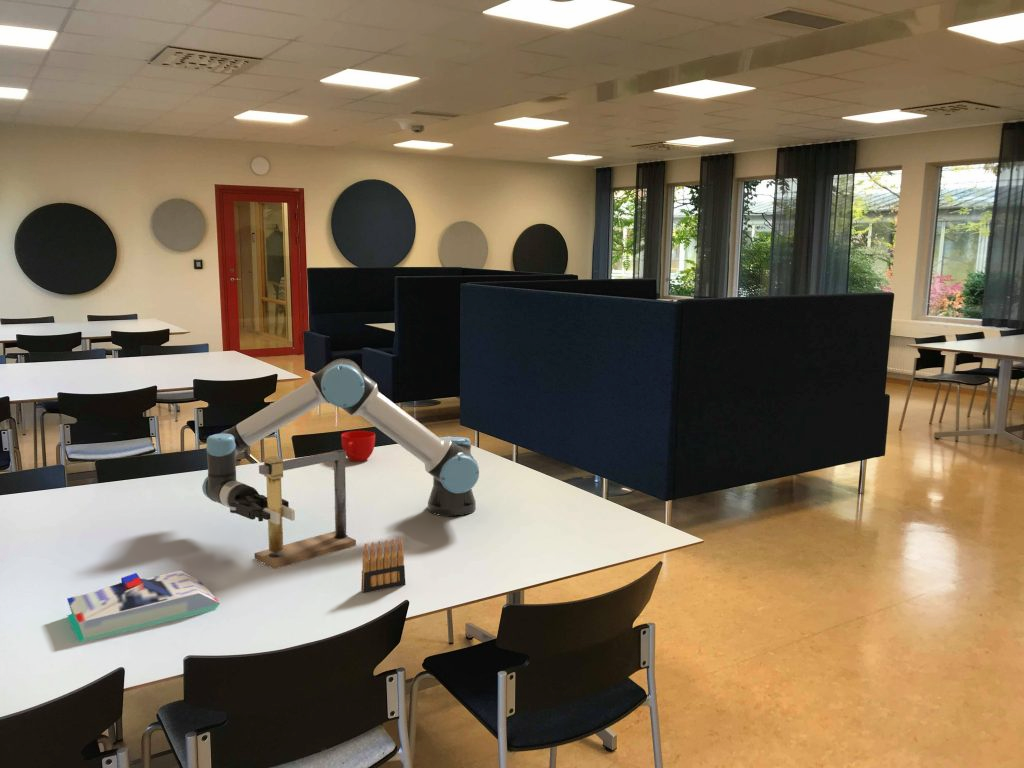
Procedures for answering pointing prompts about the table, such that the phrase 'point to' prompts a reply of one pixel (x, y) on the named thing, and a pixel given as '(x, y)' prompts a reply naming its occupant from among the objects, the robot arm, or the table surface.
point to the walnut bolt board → (304, 550)
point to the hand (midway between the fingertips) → (285, 517)
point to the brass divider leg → (275, 502)
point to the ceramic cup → (358, 445)
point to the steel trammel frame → (339, 481)
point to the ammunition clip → (383, 567)
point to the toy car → (138, 604)
